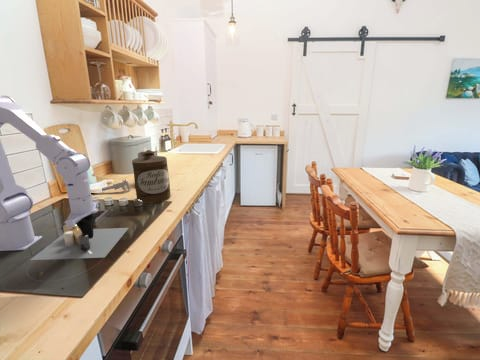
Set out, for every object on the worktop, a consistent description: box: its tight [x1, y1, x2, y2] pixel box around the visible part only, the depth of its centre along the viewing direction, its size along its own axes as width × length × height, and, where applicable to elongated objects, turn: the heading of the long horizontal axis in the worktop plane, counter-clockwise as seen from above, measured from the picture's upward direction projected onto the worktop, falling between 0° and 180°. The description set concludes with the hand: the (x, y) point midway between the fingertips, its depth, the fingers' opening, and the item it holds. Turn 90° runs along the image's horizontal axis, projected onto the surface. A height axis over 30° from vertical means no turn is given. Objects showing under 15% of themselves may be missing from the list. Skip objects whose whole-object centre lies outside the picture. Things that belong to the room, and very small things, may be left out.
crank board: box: [30, 227, 129, 261], centre depth 80 cm, size 20×18×5 cm
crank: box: [62, 224, 91, 251], centre depth 80 cm, size 15×4×4 cm, turn 46°
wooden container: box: [131, 149, 171, 204], centre depth 118 cm, size 15×15×22 cm
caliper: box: [101, 179, 131, 192], centre depth 129 cm, size 20×1×6 cm, turn 103°
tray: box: [62, 209, 111, 227], centre depth 96 cm, size 11×11×2 cm
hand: (88, 238), depth 80 cm, fingers closed, pressing on crank
